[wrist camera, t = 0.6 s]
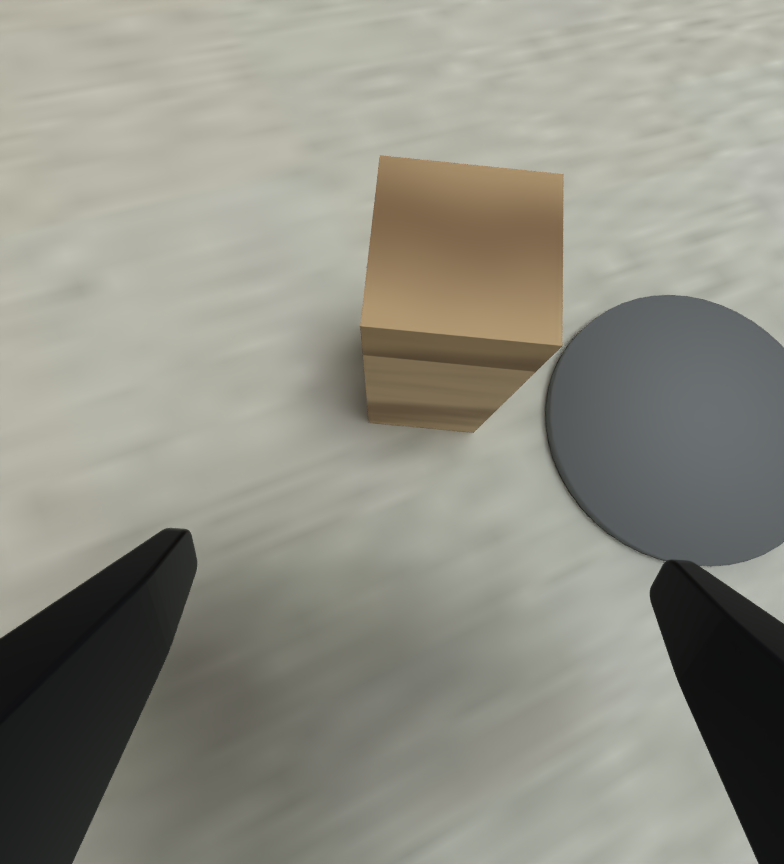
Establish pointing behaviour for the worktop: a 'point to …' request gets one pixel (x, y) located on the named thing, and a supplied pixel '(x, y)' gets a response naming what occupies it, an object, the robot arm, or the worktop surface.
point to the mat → (674, 429)
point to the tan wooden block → (459, 290)
